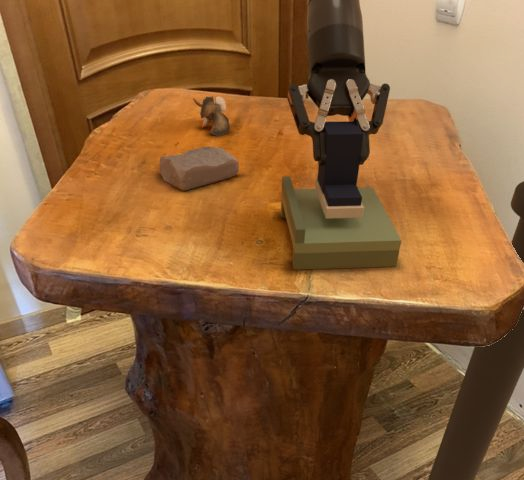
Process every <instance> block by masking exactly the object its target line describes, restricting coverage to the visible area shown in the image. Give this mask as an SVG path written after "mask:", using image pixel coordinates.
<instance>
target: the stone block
mask: <svg viewBox="0 0 524 480" xmlns="http://www.w3.org/2000/svg"><path fill="white" fill-rule="evenodd" d="M158 168H159V175H160V176H161V177H162V180H163V181H164V182H165V183H168V184H169V185H172V186H173V187H174V188H177V189H178V190H180V191H183V192H186V191H190V190H193V189H196V188H197V189H198V188H200V187H204V186H207V185H210V184H215V183H217V182H220V181H225V180H228V179H231V178H232V177H235V176H237V174H238V172H239V169H240V164H239V161H238V159H237V158H236V156H233V155H232V154H230V153H229V151H227V150H225V149H224V148H222V147H220V146H219V147H218V146H217V147H216V146H201V147H198V148H193V149H189V150H187V151H185V152H184V153H182V154H172V155H166V156H160V158H159V166H158Z"/></svg>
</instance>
